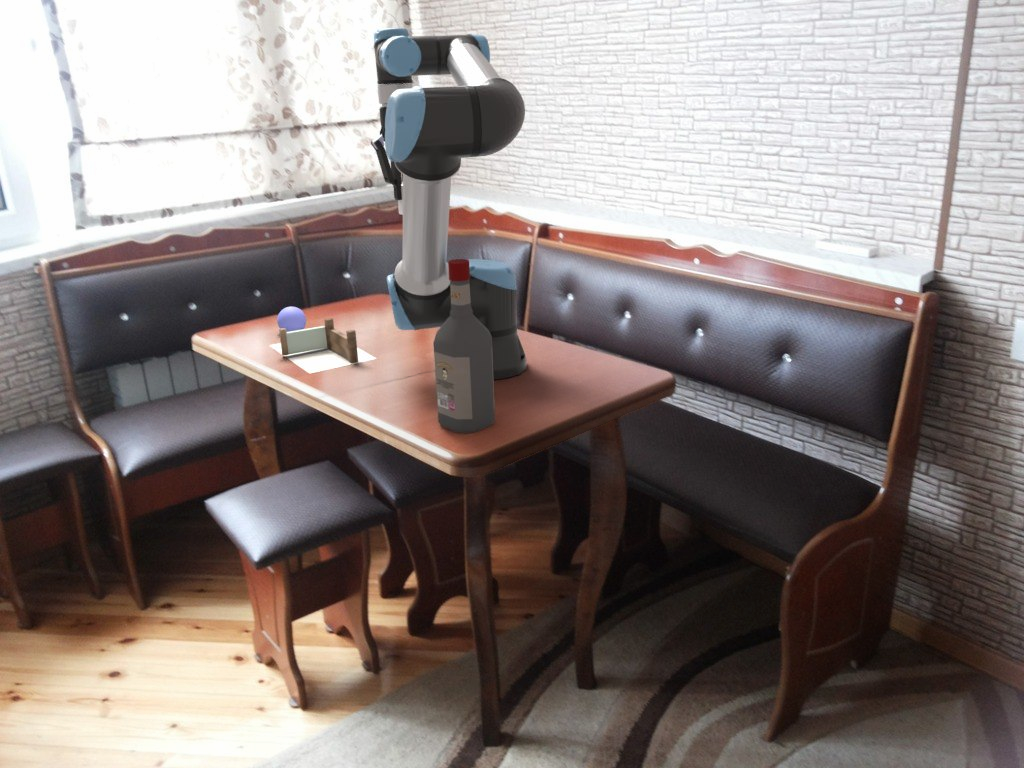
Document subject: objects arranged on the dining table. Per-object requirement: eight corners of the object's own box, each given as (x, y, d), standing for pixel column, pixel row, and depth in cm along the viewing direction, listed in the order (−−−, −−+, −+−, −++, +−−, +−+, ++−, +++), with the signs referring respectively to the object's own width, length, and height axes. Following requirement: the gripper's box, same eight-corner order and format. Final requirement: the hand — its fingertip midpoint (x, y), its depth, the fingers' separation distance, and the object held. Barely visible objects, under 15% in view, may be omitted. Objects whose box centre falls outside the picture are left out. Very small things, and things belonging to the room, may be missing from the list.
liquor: (465, 437, 153) (456, 269, 143) (431, 424, 159) (421, 262, 149) (502, 422, 159) (496, 260, 149) (468, 410, 165) (460, 253, 155)
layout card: (377, 360, 195) (377, 358, 195) (309, 375, 187) (309, 373, 187) (331, 334, 216) (331, 332, 216) (268, 346, 208) (268, 344, 207)
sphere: (311, 330, 220) (308, 303, 218) (302, 338, 214) (299, 310, 211) (284, 330, 221) (281, 303, 218) (274, 338, 214) (271, 310, 212)
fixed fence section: (359, 361, 194) (356, 331, 191) (351, 363, 192) (348, 333, 190) (334, 346, 205) (331, 317, 203) (326, 348, 204) (322, 319, 201)
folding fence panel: (325, 346, 204) (322, 321, 202) (327, 348, 202) (324, 323, 200) (281, 354, 199) (278, 328, 197) (283, 355, 198) (280, 330, 196)
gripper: (414, 103, 195) (421, 209, 203) (361, 106, 189) (371, 215, 197) (431, 103, 189) (437, 212, 197) (376, 106, 183) (385, 219, 191)
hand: (404, 214), depth 197 cm, fingers closed
